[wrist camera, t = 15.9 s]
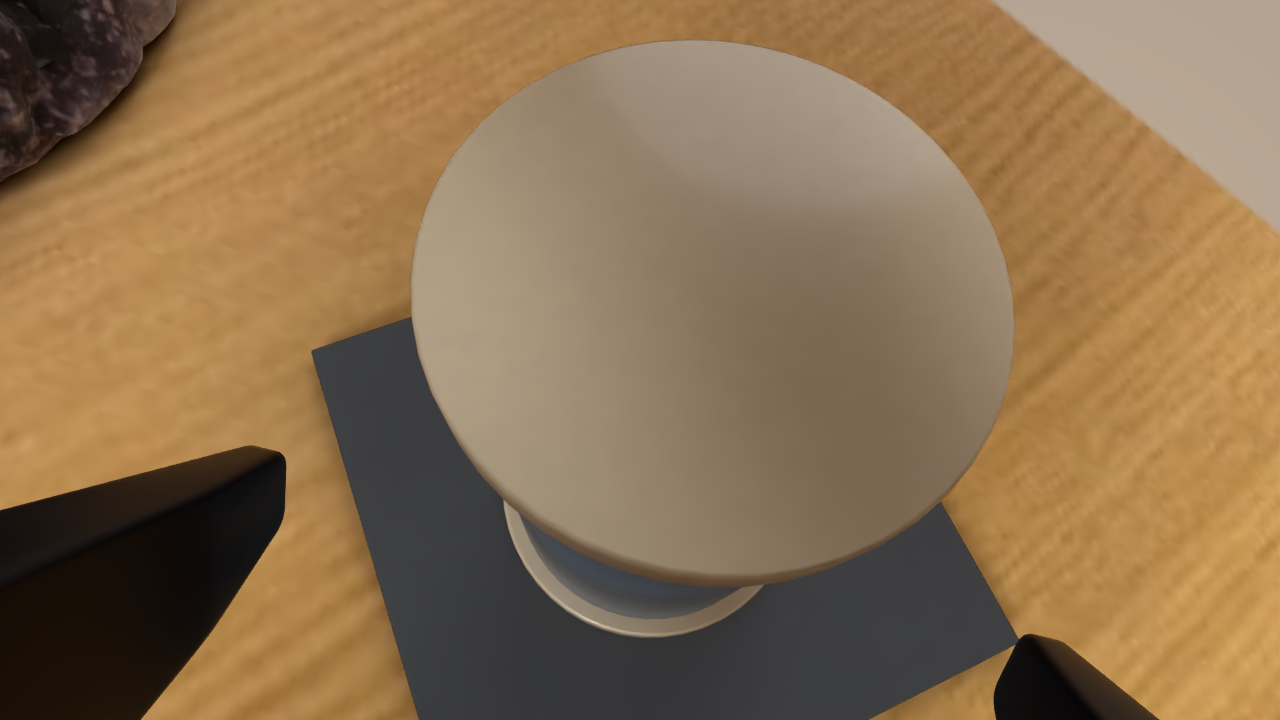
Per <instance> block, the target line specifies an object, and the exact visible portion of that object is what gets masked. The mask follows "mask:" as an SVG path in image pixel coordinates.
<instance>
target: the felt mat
mask: <svg viewBox="0 0 1280 720" xmlns="http://www.w3.org/2000/svg"><path fill="white" fill-rule="evenodd" d="M312 356H313V360H314V363H315V367H316V370H317V373H318V377H319V380H320V384H321V387H322V390H323V394H324V397H325V401H326V404H327V407H328V411H329V414H330V418H331V421H332V425H333V428H334V431H335V435H336V438H337V442H338V445H339V448H340V452H341V455H342V459H343V462H344V465H345V469H346V472H347V476H348V479H349V483H350V486H351V489H352V493H353V496H354V500H355V503H356V506H357V510H358V513H359V517H360V520H361V523H362V527H363V530H364V534H365V537H366V541H367V544H368V547H369V551H370V554H371V558H372V561H373V564H374V568H375V571H376V575H377V578H378V581H379V585H380V588H381V592H382V595H383V599H384V602H385V605H386V609H387V612H388V616H389V619H390V622H391V626H392V629H393V633H394V636H395V639H396V643H397V646H398V650H399V653H400V656H401V660H402V663H403V667H404V670H405V674H406V677H407V680H408V684H409V687H410V691H411V694H412V697H413V701H414V704H415V708H416V711H417V714H418V718H419V720H869V719H870V718H872V717H874V716H876V715H878V714H880V713H882V712H884V711H886V710H888V709H890V708H892V707H894V706H896V705H898V704H900V703H902V702H904V701H906V700H908V699H910V698H912V697H914V696H916V695H918V694H920V693H922V692H924V691H926V690H927V689H929V688H931V687H933V686H935V685H937V684H939V683H941V682H943V681H945V680H947V679H949V678H951V677H953V676H955V675H957V674H959V673H961V672H963V671H965V670H967V669H969V668H971V667H973V666H975V665H977V664H979V663H981V662H983V661H984V660H986V659H988V658H990V657H992V656H994V655H996V654H998V653H1000V652H1002V651H1004V650H1006V649H1008V648H1010V647H1012V646H1014V645H1016V644H1017V642H1018V641H1019V639H1018V637H1017V635H1016V633H1015V632H1014V630H1013V628H1012V626H1011V624H1010V623H1009V621H1008V619H1007V617H1006V616H1005V614H1004V612H1003V610H1002V609H1001V607H1000V605H999V603H998V602H997V600H996V598H995V596H994V595H993V593H992V591H991V589H990V588H989V586H988V584H987V582H986V581H985V579H984V577H983V575H982V573H981V572H980V570H979V568H978V566H977V565H976V563H975V561H974V559H973V558H972V556H971V554H970V552H969V551H968V549H967V547H966V545H965V544H964V542H963V540H962V538H961V537H960V535H959V533H958V531H957V530H956V528H955V526H954V524H953V522H952V521H951V519H950V517H949V515H948V514H947V512H946V510H945V508H944V507H943V505H942V503H941V501H940V502H939V503H938V504H937V505H936V506H935V507H933V508H932V509H931V510H930V511H929V512H928V513H927V514H926V515H924V516H923V517H922V518H921V519H920V520H919V521H918V522H916V523H915V524H913V525H912V526H910V527H909V528H907V529H906V530H904V531H902V532H901V533H899V534H898V535H896V536H895V537H893V538H892V539H890V540H889V541H887V542H886V543H884V544H882V545H880V546H878V547H876V548H874V549H872V550H869V551H867V552H865V553H863V554H861V555H859V556H856V557H854V558H852V559H850V560H848V561H846V562H843V563H841V564H839V565H837V566H835V567H832V568H830V569H828V570H825V571H821V572H818V573H814V574H811V575H808V576H804V577H801V578H797V579H794V580H790V581H786V582H779V583H772V584H765V585H764V586H763V587H762V588H761V589H760V590H759V591H758V592H757V594H756V595H755V596H754V597H752V598H751V599H750V600H749V601H748V602H747V603H745V604H744V605H743V606H742V607H741V608H740V609H738V610H737V611H735V612H733V613H732V614H730V615H729V616H727V617H726V618H724V619H722V620H720V621H718V622H716V623H714V624H712V625H709V626H707V627H705V628H703V629H700V630H697V631H694V632H690V633H687V634H683V635H678V636H672V637H665V638H637V637H630V636H622V635H618V634H615V633H611V632H608V631H604V630H601V629H599V628H596V627H594V626H592V625H590V624H587V623H585V622H583V621H581V620H580V619H578V618H576V617H575V616H573V615H571V614H570V613H568V612H567V611H565V610H564V609H563V608H562V607H560V606H559V605H558V604H557V603H555V602H554V601H553V600H552V599H551V598H550V597H549V596H548V595H547V594H546V593H545V592H544V591H543V590H542V589H541V588H540V587H539V586H538V584H537V583H536V582H535V580H534V579H533V577H532V576H531V575H530V573H529V572H528V570H527V569H526V567H525V565H524V564H523V562H522V560H521V558H520V556H519V554H518V552H517V550H516V548H515V546H514V543H513V540H512V538H511V535H510V532H509V529H508V525H507V520H506V516H505V511H504V501H503V498H502V497H501V496H500V495H499V494H498V493H497V492H496V491H495V490H494V489H493V488H492V487H491V486H490V485H489V484H488V483H487V481H486V480H485V479H484V478H483V477H482V476H481V475H480V473H479V472H478V471H477V469H476V468H475V466H474V465H473V464H472V462H471V461H470V459H469V458H468V457H467V455H466V454H465V453H464V451H463V450H462V448H461V447H460V446H459V444H458V442H457V440H456V439H455V437H454V435H453V433H452V431H451V429H450V428H449V426H448V424H447V422H446V420H445V418H444V416H443V414H442V412H441V410H440V408H439V406H438V404H437V403H436V401H435V399H434V397H433V395H432V393H431V390H430V387H429V385H428V382H427V379H426V376H425V373H424V370H423V367H422V364H421V361H420V359H419V356H418V350H417V345H416V340H415V334H414V329H413V323H412V317H410V318H407V319H404V320H401V321H398V322H395V323H392V324H389V325H386V326H383V327H380V328H377V329H374V330H371V331H368V332H365V333H362V334H359V335H356V336H353V337H350V338H347V339H344V340H341V341H338V342H335V343H332V344H330V345H327V346H324V347H321V348H318V349H315V350H312Z"/></svg>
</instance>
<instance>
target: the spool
mask: <svg viewBox="0 0 1280 720" xmlns="http://www.w3.org/2000/svg"><path fill="white" fill-rule="evenodd" d="M410 286H411V317H412V323H413V329H414V334H415V340H416V345H417V350H418V356H419V359H420V361H421V364H422V367H423V370H424V373H425V376H426V379H427V382H428V385H429V387H430V390H431V393H432V395H433V397H434V399H435V401H436V403H437V404H438V406H439V408H440V410H441V412H442V414H443V416H444V418H445V420H446V422H447V424H448V426H449V428H450V429H451V431H452V433H453V435H454V437H455V439H456V440H457V442H458V444H459V446H460V447H461V448H462V450H463V451H464V453H465V454H466V455H467V457H468V458H469V459H470V461H471V462H472V464H473V465H474V466H475V468H476V469H477V471H478V472H479V473H480V475H481V476H482V477H483V478H484V479H485V480H486V481H487V483H488V484H489V485H490V486H491V487H492V488H493V489H494V490H495V491H496V492H497V493H498V494H499V495H500V496H501V497H502V498H503V501H504V511H505V516H506V520H507V525H508V529H509V532H510V535H511V538H512V540H513V543H514V546H515V548H516V550H517V552H518V554H519V556H520V558H521V560H522V562H523V564H524V565H525V567H526V569H527V570H528V572H529V573H530V575H531V576H532V577H533V579H534V580H535V582H536V583H537V584H538V586H539V587H540V588H541V589H542V590H543V591H544V592H545V593H546V594H547V595H548V596H549V597H550V598H551V599H552V600H553V601H554V602H555V603H557V604H558V605H559V606H560V607H562V608H563V609H564V610H565V611H567V612H568V613H570V614H571V615H573V616H575V617H576V618H578V619H580V620H581V621H583V622H585V623H587V624H590V625H592V626H594V627H596V628H599V629H601V630H604V631H608V632H611V633H615V634H618V635H622V636H630V637H637V638H665V637H672V636H678V635H683V634H687V633H690V632H694V631H697V630H700V629H703V628H705V627H707V626H709V625H712V624H714V623H716V622H718V621H720V620H722V619H724V618H726V617H727V616H729V615H730V614H732V613H733V612H735V611H737V610H738V609H740V608H741V607H742V606H743V605H744V604H745V603H747V602H748V601H749V600H750V599H751V598H752V597H754V596H755V595H756V594H757V592H758V591H759V590H760V589H761V588H762V587H763V586H764V585H765V584H772V583H779V582H786V581H790V580H794V579H797V578H801V577H804V576H808V575H811V574H814V573H818V572H821V571H825V570H828V569H830V568H832V567H835V566H837V565H839V564H841V563H843V562H846V561H848V560H850V559H852V558H854V557H856V556H859V555H861V554H863V553H865V552H867V551H869V550H872V549H874V548H876V547H878V546H880V545H882V544H884V543H886V542H887V541H889V540H890V539H892V538H893V537H895V536H896V535H898V534H899V533H901V532H902V531H904V530H906V529H907V528H909V527H910V526H912V525H913V524H915V523H916V522H918V521H919V520H920V519H921V518H922V517H923V516H924V515H926V514H927V513H928V512H929V511H930V510H931V509H932V508H933V507H935V506H936V505H937V504H938V503H939V502H940V501H941V500H942V499H944V498H945V497H946V496H947V495H948V494H949V492H950V491H951V490H952V489H953V488H954V486H955V485H956V484H957V483H958V481H959V480H960V479H961V478H962V477H963V475H964V474H965V473H966V472H967V471H968V469H969V468H970V467H971V466H972V464H973V462H974V461H975V459H976V457H977V456H978V454H979V452H980V450H981V449H982V447H983V445H984V444H985V442H986V440H987V438H988V437H989V435H990V433H991V431H992V428H993V426H994V423H995V421H996V418H997V416H998V413H999V411H1000V408H1001V405H1002V403H1003V400H1004V397H1005V392H1006V388H1007V383H1008V379H1009V374H1010V370H1011V366H1012V358H1013V344H1014V329H1015V325H1014V312H1013V299H1012V290H1011V286H1010V281H1009V277H1008V272H1007V267H1006V263H1005V258H1004V256H1003V253H1002V250H1001V247H1000V245H999V242H998V239H997V237H996V234H995V231H994V228H993V226H992V224H991V222H990V220H989V218H988V216H987V214H986V212H985V210H984V208H983V206H982V204H981V203H980V201H979V199H978V197H977V195H976V194H975V192H974V191H973V189H972V188H971V186H970V185H969V183H968V182H967V180H966V179H965V177H964V176H963V174H962V173H961V172H960V170H959V169H958V167H957V166H956V165H955V164H954V162H953V161H952V160H951V159H950V158H949V157H948V156H947V154H946V153H945V152H944V151H943V150H942V149H941V148H940V146H939V145H938V144H937V143H936V142H935V141H934V140H933V139H932V138H931V137H930V136H929V135H928V134H927V133H926V132H925V131H924V130H922V129H921V128H920V127H919V126H918V125H917V124H916V123H915V122H914V121H913V120H912V119H911V118H909V117H908V116H907V115H905V114H904V113H903V112H901V111H900V110H899V109H897V108H896V107H895V106H893V105H892V104H891V103H889V102H888V101H887V100H885V99H884V98H883V97H881V96H879V95H878V94H876V93H874V92H873V91H871V90H869V89H868V88H866V87H864V86H863V85H861V84H859V83H857V82H856V81H854V80H852V79H850V78H848V77H846V76H844V75H842V74H840V73H837V72H835V71H833V70H831V69H829V68H827V67H824V66H822V65H820V64H817V63H814V62H811V61H808V60H806V59H803V58H800V57H797V56H794V55H791V54H788V53H784V52H780V51H776V50H772V49H768V48H763V47H759V46H755V45H748V44H741V43H734V42H726V41H713V40H672V41H655V42H649V43H643V44H637V45H631V46H625V47H620V48H616V49H612V50H609V51H605V52H602V53H598V54H594V55H591V56H588V57H585V58H583V59H580V60H578V61H575V62H573V63H570V64H568V65H565V66H563V67H560V68H558V69H556V70H554V71H552V72H551V73H549V74H547V75H545V76H543V77H541V78H539V79H538V80H536V81H534V82H532V83H530V84H528V85H527V86H526V87H524V88H523V89H521V90H520V91H519V92H517V93H516V94H514V95H513V96H512V97H510V98H509V99H507V100H506V101H505V102H503V103H502V104H501V105H500V106H498V107H497V108H496V109H495V110H494V111H493V112H492V113H491V114H490V115H489V116H488V117H487V118H485V119H484V120H483V121H482V122H481V123H480V124H479V125H478V126H477V127H476V128H475V129H474V131H473V132H472V133H471V134H470V135H469V137H468V138H467V139H466V140H465V141H464V143H463V144H462V145H461V146H460V147H459V149H458V150H457V151H456V152H455V154H454V156H453V157H452V159H451V160H450V162H449V164H448V165H447V167H446V168H445V170H444V172H443V173H442V175H441V176H440V178H439V180H438V182H437V184H436V186H435V189H434V191H433V193H432V195H431V198H430V200H429V202H428V205H427V207H426V209H425V211H424V214H423V218H422V221H421V225H420V228H419V232H418V236H417V239H416V243H415V247H414V255H413V264H412V272H411V281H410Z"/></svg>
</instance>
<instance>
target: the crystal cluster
mask: <svg viewBox="0 0 1280 720" xmlns="http://www.w3.org/2000/svg"><path fill="white" fill-rule="evenodd" d="M175 11H176V0H0V182H1V181H2V180H4V179H5V178H6V177H8V176H10V175H12V174H14V173H16V172H18V171H21V170H23V169H25V168H27V167H29V166H31V165H33V164H35V163H37V162H38V161H39V160H40V159H41V158H42V157H43V156H44V155H45V154H46V153H47V152H48V151H49V150H50V149H51V148H52V147H53V146H54V145H55V144H56V143H57V142H58V141H59V140H60V139H62V138H64V137H67V136H69V135H72V134H75V133H77V132H78V131H80V130H81V129H82V128H84V127H85V126H87V125H88V124H89V123H91V122H92V121H93V120H94V119H95V118H96V117H97V116H98V115H99V114H100V113H101V112H102V111H103V110H104V109H105V108H106V107H107V106H108V105H109V104H110V102H111V101H112V100H113V99H114V98H115V97H116V96H117V95H118V94H119V93H120V92H121V91H122V89H123V88H125V87H126V86H127V85H128V84H129V83H130V81H131V80H132V78H133V76H134V75H135V73H136V71H137V70H138V68H139V66H140V64H141V62H142V59H143V46H145V45H146V44H148V43H149V42H151V41H153V40H154V39H155V38H156V37H157V36H158V35H159V34H160V33H161V32H162V31H163V30H164V29H165V28H166V27H167V25H168V24H169V23H170V21H171V20H172V19H173V17H174V16H175Z"/></svg>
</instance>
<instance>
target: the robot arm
mask: <svg viewBox="0 0 1280 720" xmlns="http://www.w3.org/2000/svg"><path fill="white" fill-rule="evenodd" d="M285 488H286V460H285V457H284V456H283V455H282V454H281V453H280V452H277V451H273V450H269V449H265V448H261V447H257V446H250V445H249V446H244V447H240V448H236V449H232V450H229V451H225V452H221V453H217V454H213V455H210V456H206V457H202V458H198V459H194V460H190V461H187V462H183V463H179V464H175V465H171V466H168V467H164V468H160V469H156V470H152V471H148V472H145V473H141V474H137V475H133V476H129V477H126V478H122V479H118V480H114V481H110V482H106V483H103V484H99V485H95V486H91V487H87V488H84V489H80V490H76V491H72V492H68V493H64V494H61V495H57V496H53V497H49V498H45V499H42V500H38V501H34V502H30V503H26V504H22V505H19V506H15V507H11V508H7V509H3V510H0V720H141V719H142V717H143V716H144V715H145V714H146V713H147V711H148V710H149V709H150V708H151V706H152V705H153V704H154V703H155V702H156V700H157V699H158V698H159V697H160V695H161V694H162V693H163V692H164V690H165V689H166V688H167V687H168V686H169V684H170V683H171V682H172V681H173V679H174V678H175V677H176V676H177V674H178V673H179V672H180V671H181V670H182V668H183V667H184V666H185V665H186V663H187V662H188V661H189V660H190V659H191V657H192V656H193V655H194V654H195V652H196V651H197V650H198V649H199V647H200V646H201V645H202V643H203V642H204V641H205V640H206V638H207V637H208V636H209V634H210V633H211V632H212V630H213V629H214V627H215V626H216V624H217V623H218V621H219V620H220V619H221V617H222V616H223V614H224V613H225V611H226V609H227V608H228V606H229V605H230V603H231V602H232V600H233V599H234V597H235V596H236V594H237V593H238V591H239V590H240V588H241V586H242V585H243V583H244V582H245V580H246V579H247V577H248V576H249V574H250V573H251V571H252V570H253V568H254V566H255V565H256V563H257V562H258V560H259V559H260V557H261V556H262V554H263V553H264V551H265V550H266V548H267V546H268V545H269V543H270V542H271V540H272V539H273V537H274V536H275V534H276V533H277V531H278V529H279V527H280V525H281V523H282V520H283V516H284V511H285ZM994 710H995V716H996V720H1159V719H1158V718H1157V717H1155V716H1154V715H1153V714H1152V713H1150V712H1149V711H1148V710H1147V709H1145V708H1144V707H1143V706H1142V705H1140V704H1139V703H1138V702H1137V701H1136V700H1134V699H1133V698H1132V697H1131V696H1129V695H1128V694H1127V693H1126V692H1124V691H1123V690H1122V689H1121V688H1119V687H1118V686H1117V685H1116V684H1115V683H1113V682H1112V681H1111V680H1110V679H1108V678H1107V677H1106V676H1105V675H1103V674H1102V673H1101V672H1100V671H1098V670H1097V669H1096V668H1095V667H1094V666H1092V665H1091V664H1090V663H1089V662H1087V661H1086V660H1085V659H1084V658H1082V657H1081V656H1080V655H1079V654H1077V653H1076V652H1075V651H1074V650H1073V649H1071V648H1070V647H1069V646H1068V645H1066V644H1065V643H1063V642H1061V641H1059V640H1055V639H1051V638H1047V637H1043V636H1038V635H1034V634H1027V635H1024V636H1022V637H1021V638H1020V639H1019V641H1018V642H1017V644H1016V646H1015V648H1014V650H1013V652H1012V654H1011V656H1010V658H1009V660H1008V662H1007V664H1006V666H1005V668H1004V670H1003V672H1002V674H1001V676H1000V678H999V680H998V682H997V685H996V688H995V691H994Z"/></svg>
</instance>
